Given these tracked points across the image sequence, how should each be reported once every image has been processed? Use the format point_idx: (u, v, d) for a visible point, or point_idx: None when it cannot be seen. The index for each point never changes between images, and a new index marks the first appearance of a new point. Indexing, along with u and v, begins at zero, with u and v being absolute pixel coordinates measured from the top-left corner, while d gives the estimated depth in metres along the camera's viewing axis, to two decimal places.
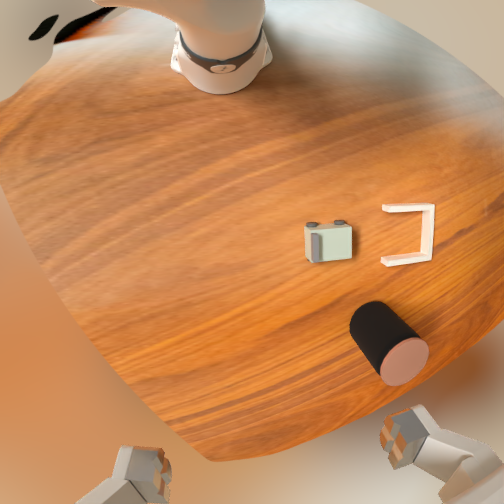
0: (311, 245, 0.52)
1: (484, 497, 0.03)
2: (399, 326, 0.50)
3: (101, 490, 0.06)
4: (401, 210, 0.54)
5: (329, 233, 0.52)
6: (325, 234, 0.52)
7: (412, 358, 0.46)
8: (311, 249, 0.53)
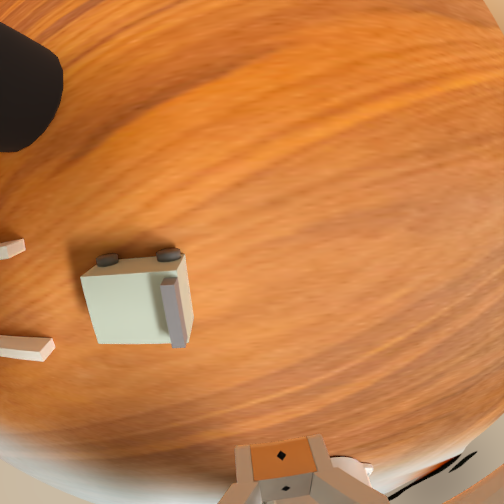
0: (182, 314, 0.21)
1: (484, 497, 0.03)
2: None
3: (231, 499, 0.06)
4: (21, 352, 0.23)
5: (143, 334, 0.22)
6: (152, 333, 0.22)
7: None
8: (181, 304, 0.21)
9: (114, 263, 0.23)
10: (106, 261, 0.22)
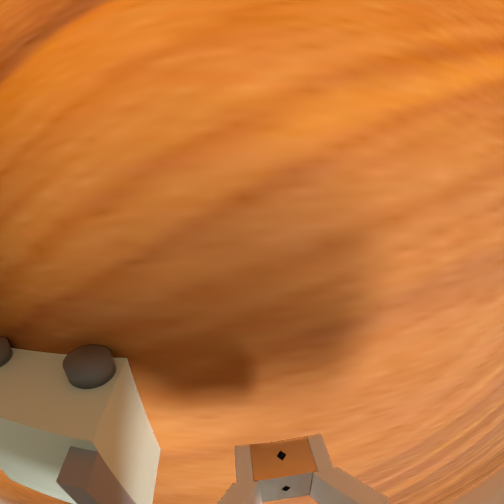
0: (127, 500, 0.07)
1: (484, 497, 0.03)
2: None
3: (231, 499, 0.06)
4: None
5: (69, 496, 0.07)
6: None
7: None
8: (119, 490, 0.06)
9: (0, 365, 0.08)
10: None
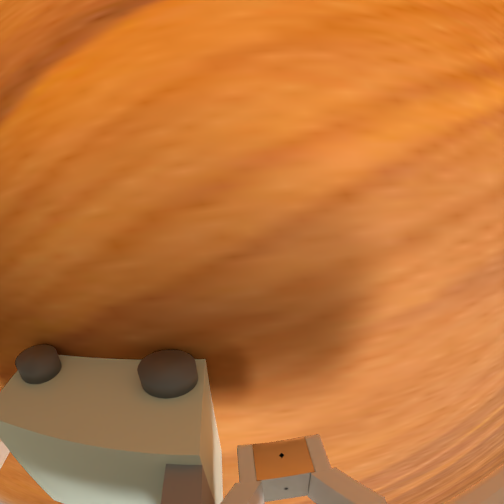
0: None
1: (484, 497, 0.03)
2: None
3: (234, 499, 0.06)
4: None
5: None
6: None
7: None
8: (212, 501, 0.07)
9: (50, 377, 0.08)
10: (32, 375, 0.08)
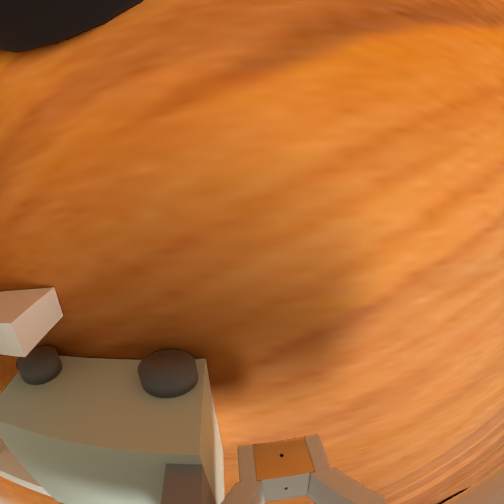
0: None
1: (484, 497, 0.03)
2: None
3: (234, 499, 0.06)
4: None
5: None
6: None
7: None
8: (213, 500, 0.07)
9: (51, 378, 0.08)
10: (33, 376, 0.08)
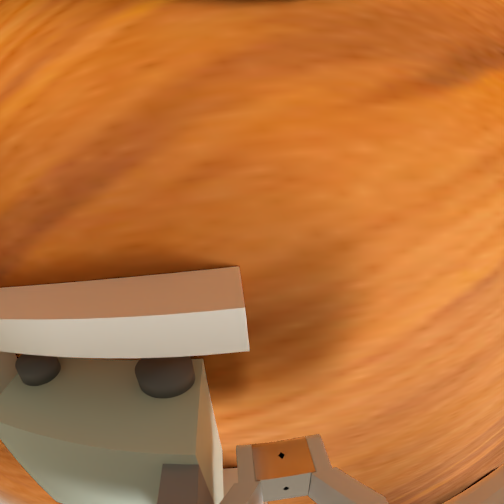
0: None
1: (484, 497, 0.03)
2: None
3: (232, 499, 0.06)
4: None
5: None
6: None
7: None
8: (210, 500, 0.07)
9: (49, 379, 0.08)
10: (32, 377, 0.08)
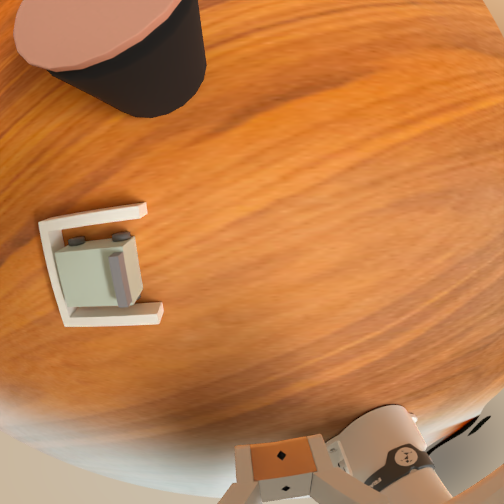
0: (127, 281, 0.26)
1: (484, 497, 0.03)
2: (113, 88, 0.15)
3: (231, 499, 0.06)
4: (131, 317, 0.29)
5: (100, 298, 0.27)
6: (106, 297, 0.27)
7: (71, 2, 0.08)
8: (125, 273, 0.26)
9: (81, 243, 0.28)
10: (75, 241, 0.27)
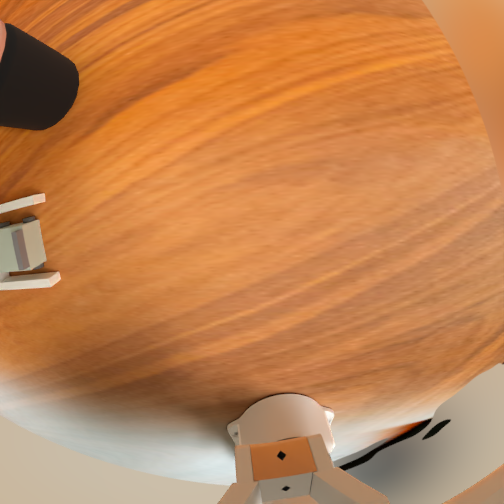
0: (25, 251, 0.30)
1: (484, 497, 0.03)
2: None
3: (231, 499, 0.06)
4: (34, 281, 0.32)
5: (12, 265, 0.30)
6: (15, 264, 0.30)
7: None
8: (24, 245, 0.29)
9: (6, 226, 0.31)
10: (1, 224, 0.31)
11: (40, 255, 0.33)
